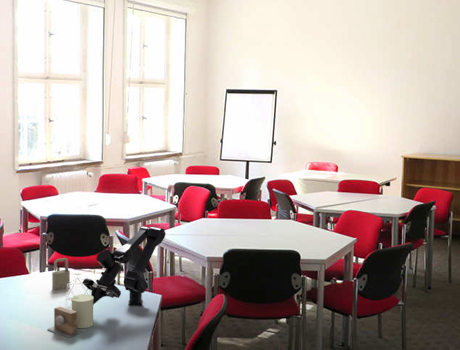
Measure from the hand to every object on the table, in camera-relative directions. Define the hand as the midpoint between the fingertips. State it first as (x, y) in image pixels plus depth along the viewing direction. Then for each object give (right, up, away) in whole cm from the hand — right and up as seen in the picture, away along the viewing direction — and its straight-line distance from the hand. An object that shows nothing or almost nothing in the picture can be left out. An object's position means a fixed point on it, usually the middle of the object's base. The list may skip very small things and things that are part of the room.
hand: (91, 304), depth 250 cm
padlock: (-26, -1, +43) cm, 50 cm away
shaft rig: (-8, -8, -11) cm, 16 cm away
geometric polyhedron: (-12, -4, +27) cm, 30 cm away
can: (-3, -8, -3) cm, 9 cm away
